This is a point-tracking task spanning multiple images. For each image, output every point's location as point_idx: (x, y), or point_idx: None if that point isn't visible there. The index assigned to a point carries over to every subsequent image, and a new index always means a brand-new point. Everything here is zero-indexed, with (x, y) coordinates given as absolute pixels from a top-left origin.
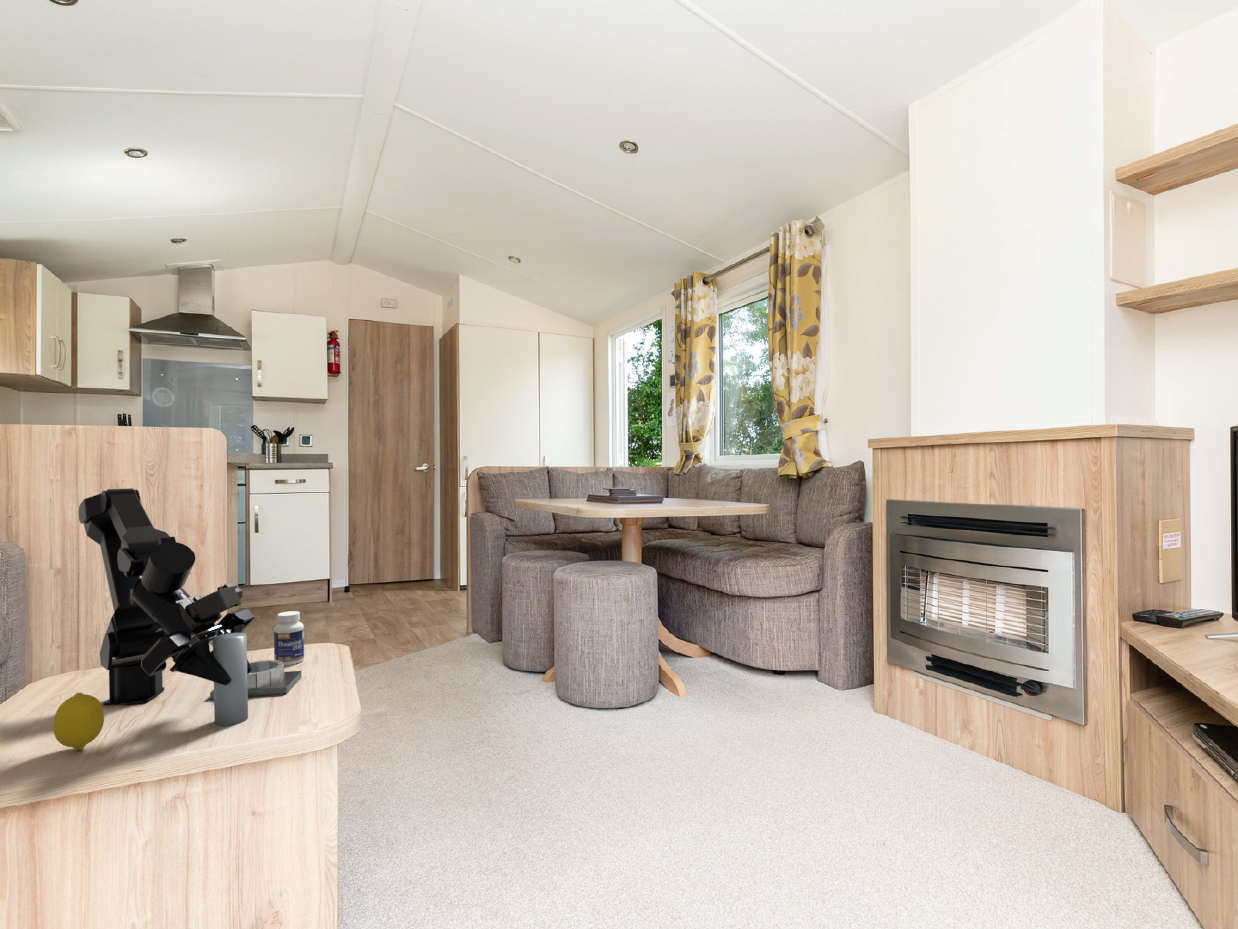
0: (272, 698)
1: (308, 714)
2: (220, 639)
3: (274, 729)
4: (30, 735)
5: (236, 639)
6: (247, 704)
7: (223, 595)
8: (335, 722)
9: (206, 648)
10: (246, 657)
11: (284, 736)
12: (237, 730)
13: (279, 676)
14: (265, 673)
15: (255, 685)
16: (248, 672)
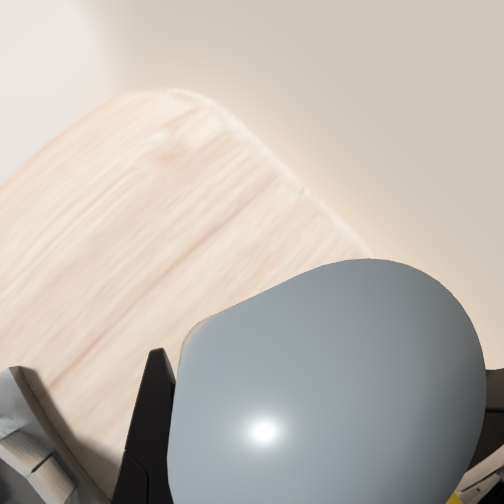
0: (53, 384)
1: (122, 180)
2: (469, 402)
3: (230, 188)
4: None
5: (409, 266)
6: (198, 323)
7: None
8: (156, 95)
9: (492, 391)
10: (219, 314)
11: (253, 139)
12: (270, 276)
13: None
14: (11, 450)
15: (49, 459)
16: (166, 356)
